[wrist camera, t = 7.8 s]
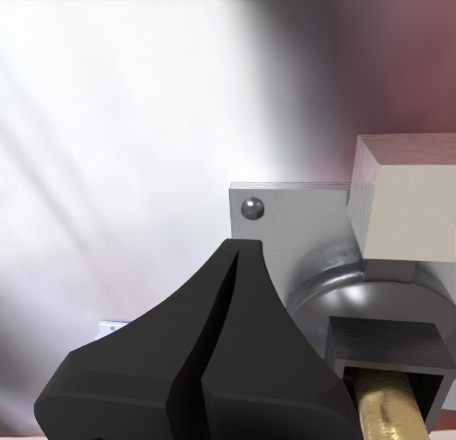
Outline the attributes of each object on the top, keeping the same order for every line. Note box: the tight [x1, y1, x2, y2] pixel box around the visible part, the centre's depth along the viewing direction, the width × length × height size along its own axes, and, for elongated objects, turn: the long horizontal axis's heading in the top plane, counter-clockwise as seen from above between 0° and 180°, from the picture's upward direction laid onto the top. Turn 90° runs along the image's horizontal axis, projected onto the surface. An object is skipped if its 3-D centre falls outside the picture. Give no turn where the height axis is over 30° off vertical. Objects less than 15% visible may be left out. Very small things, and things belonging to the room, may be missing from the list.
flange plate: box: [229, 182, 456, 410], centre depth 23 cm, size 20×19×1 cm
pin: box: [350, 367, 430, 440], centre depth 18 cm, size 3×3×6 cm
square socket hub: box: [286, 133, 456, 434], centre depth 18 cm, size 11×19×5 cm, turn 3°
